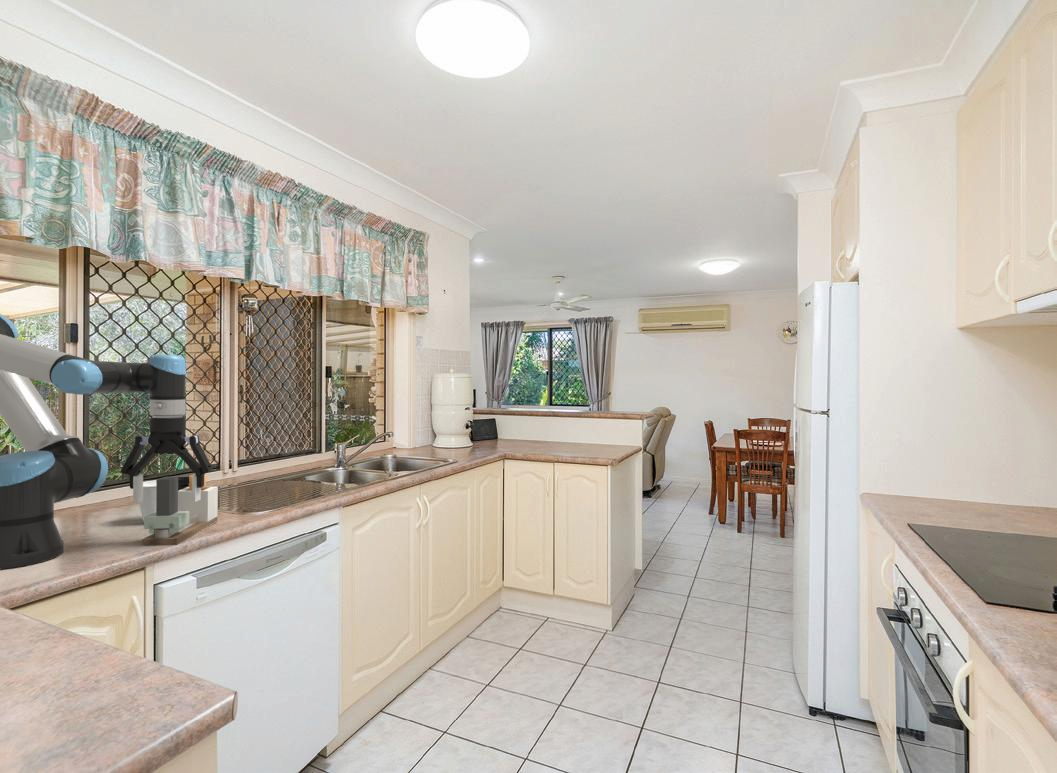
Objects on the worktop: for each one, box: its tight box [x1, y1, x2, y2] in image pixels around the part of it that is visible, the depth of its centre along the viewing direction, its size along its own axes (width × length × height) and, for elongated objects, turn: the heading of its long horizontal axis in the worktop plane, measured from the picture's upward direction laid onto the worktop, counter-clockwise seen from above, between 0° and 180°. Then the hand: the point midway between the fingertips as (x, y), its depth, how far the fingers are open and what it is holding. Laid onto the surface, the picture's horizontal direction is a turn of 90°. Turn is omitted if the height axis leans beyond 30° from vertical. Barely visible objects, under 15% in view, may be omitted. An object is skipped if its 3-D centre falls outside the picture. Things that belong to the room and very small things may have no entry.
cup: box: [138, 479, 157, 523], centre depth 152 cm, size 10×10×11 cm
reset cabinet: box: [178, 486, 219, 522], centre depth 150 cm, size 8×6×8 cm
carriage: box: [143, 476, 189, 535], centre depth 134 cm, size 8×5×13 cm, turn 97°
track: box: [141, 515, 218, 546], centre depth 142 cm, size 8×22×4 cm, turn 7°
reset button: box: [188, 473, 207, 491], centre depth 150 cm, size 4×4×5 cm
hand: (167, 501), depth 134 cm, fingers open, 13 cm apart
